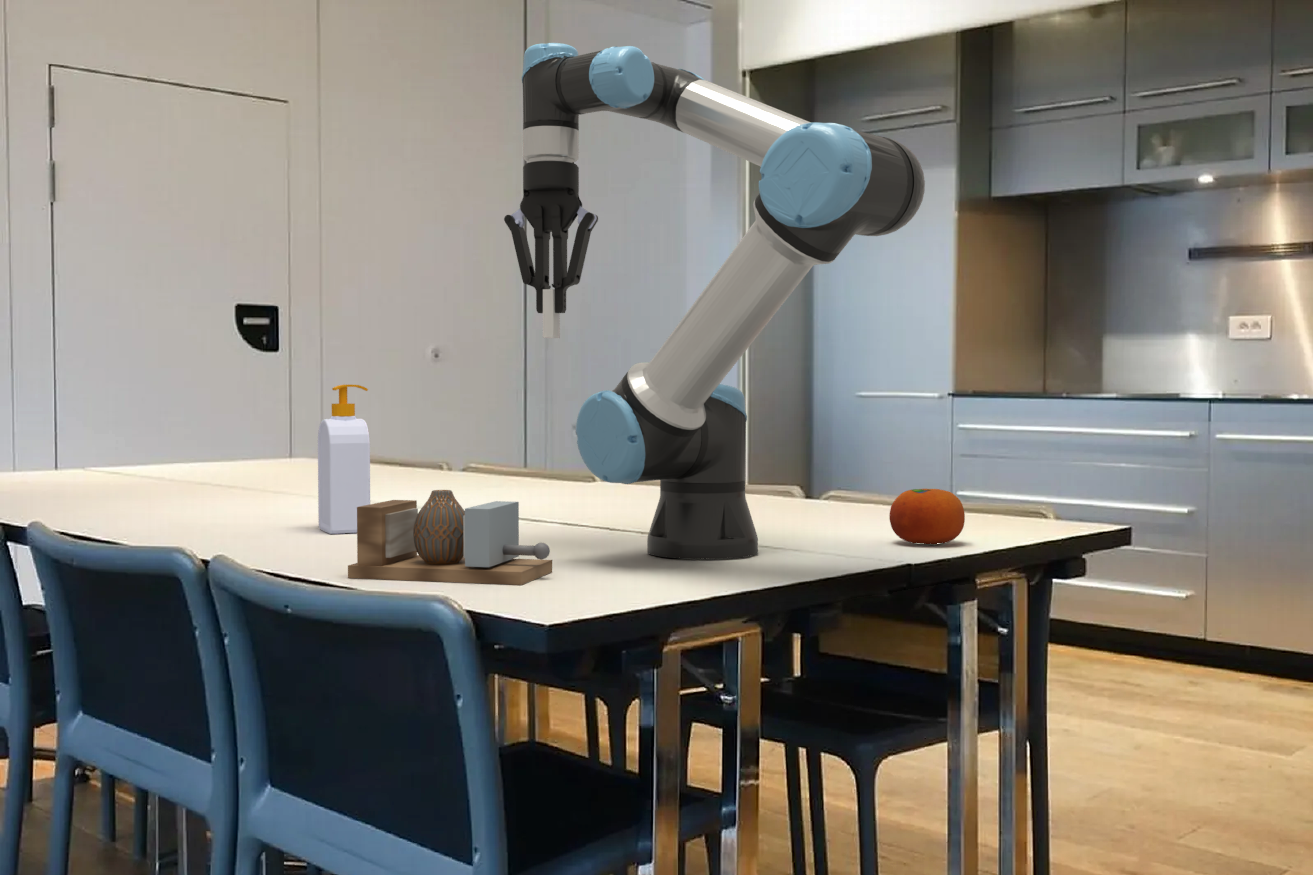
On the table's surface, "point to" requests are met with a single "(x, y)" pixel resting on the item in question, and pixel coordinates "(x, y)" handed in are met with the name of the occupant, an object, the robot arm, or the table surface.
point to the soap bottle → (342, 467)
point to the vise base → (395, 556)
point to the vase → (440, 529)
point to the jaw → (495, 535)
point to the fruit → (927, 516)
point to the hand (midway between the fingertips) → (551, 337)
